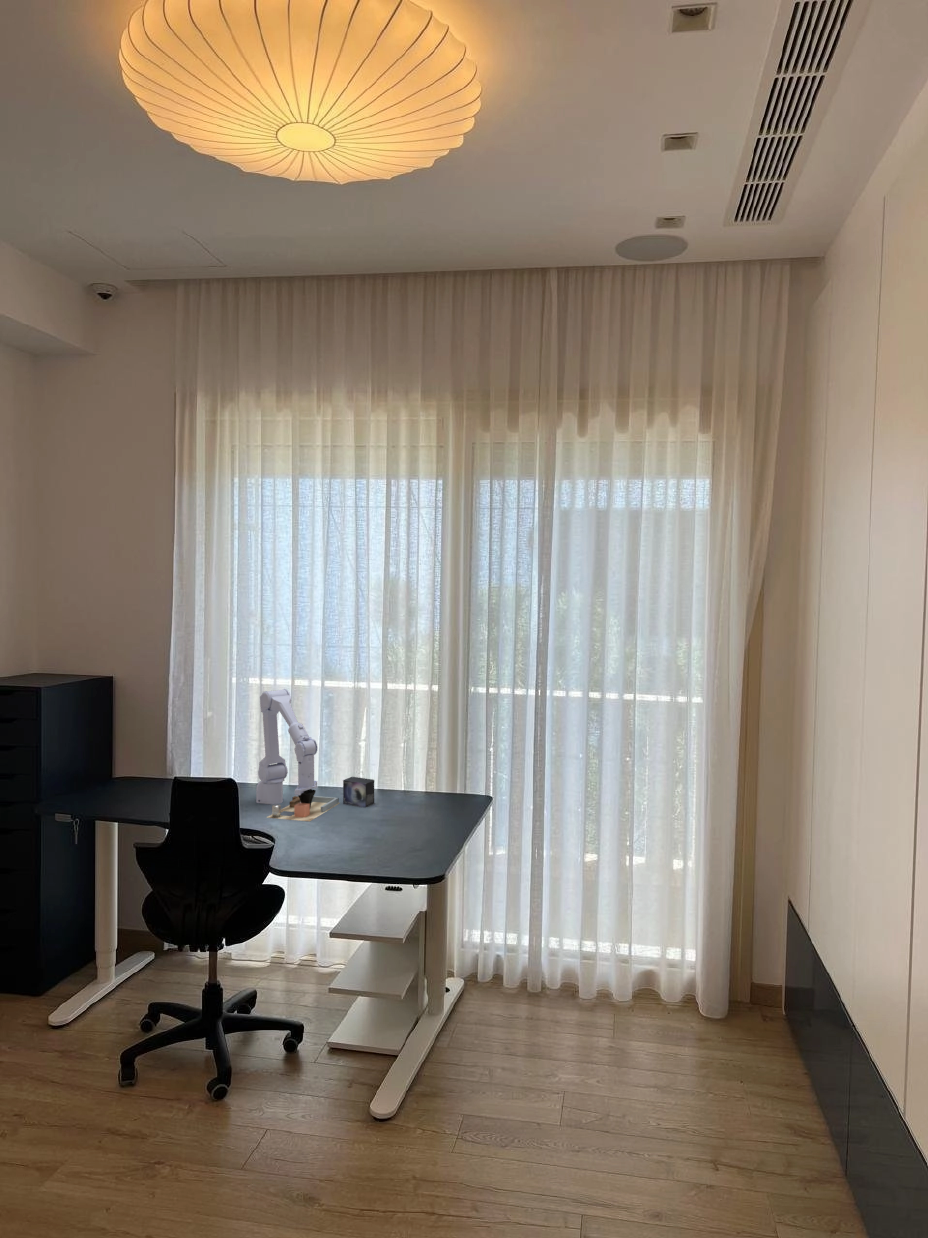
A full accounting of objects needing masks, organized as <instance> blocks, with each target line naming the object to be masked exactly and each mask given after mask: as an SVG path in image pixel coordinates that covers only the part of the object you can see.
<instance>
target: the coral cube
mask: <svg viewBox="0 0 928 1238" xmlns="http://www.w3.org/2000/svg"><path fill="white" fill-rule="evenodd" d="M293 813H294V814H295V817H306V816H308V815H310V803H298V804H296V805H294V812H293ZM294 814H293V815H294Z"/></svg>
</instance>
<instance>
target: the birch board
mask: <svg viewBox="0 0 928 1238" xmlns="http://www.w3.org/2000/svg"><path fill="white" fill-rule="evenodd" d="M325 804H326V803H322V802H312V803H311V807H310V815H308V816H306V817H295V814H292V815H281V817H279V818H275V819H277V820H278V819H279V820H289V821H299V822H300V821H301V822H311V821H313V820H315V819H316V818H318V817H320V816H321V815H323V814H324V813H326V812H328V811H330V810H331V809H334V807H336V806H338V805H339V804H341V802H339V803H338V804H336V805H335V806H333V807H331V808H330V809H328V810H326V811H325V812H321V806H323V805H325ZM283 812H291V813H294V807H290V804H288V805H286V806H285V807H283V808H281V813H283ZM266 818H267V819H268V818H269V819H274V818H273V817H272V814H270V815H268V816H266Z"/></svg>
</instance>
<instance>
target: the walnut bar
mask: <svg viewBox="0 0 928 1238" xmlns="http://www.w3.org/2000/svg"><path fill="white" fill-rule="evenodd" d="M300 802H301V801H300V798H299V797H298V795H293V797H292V800H290V801H289V805H290V807H294V805H296V804H298V803H300Z"/></svg>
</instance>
